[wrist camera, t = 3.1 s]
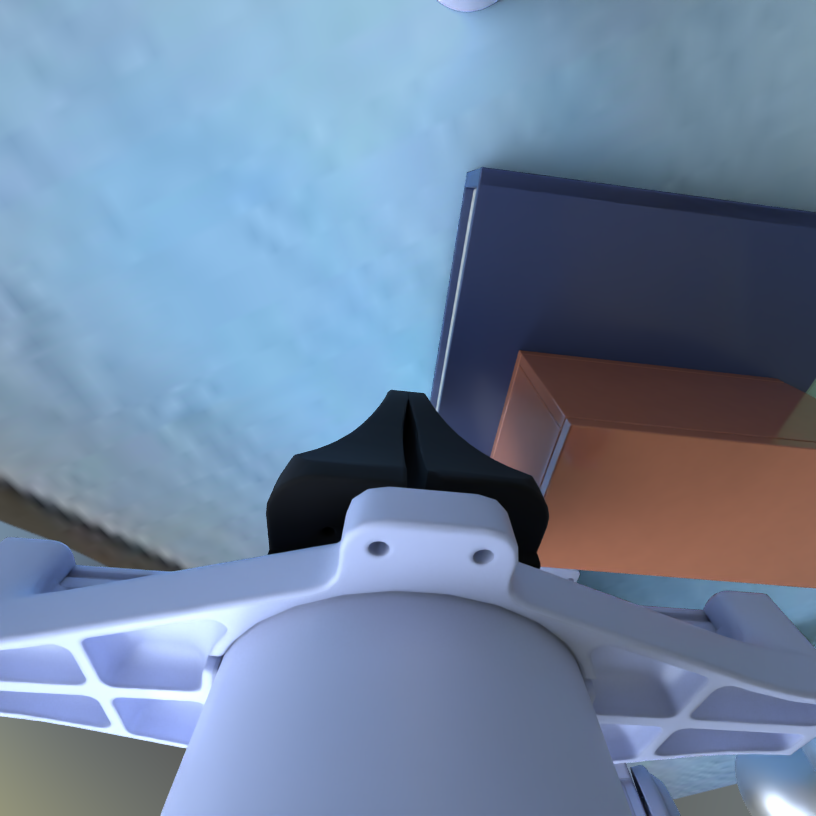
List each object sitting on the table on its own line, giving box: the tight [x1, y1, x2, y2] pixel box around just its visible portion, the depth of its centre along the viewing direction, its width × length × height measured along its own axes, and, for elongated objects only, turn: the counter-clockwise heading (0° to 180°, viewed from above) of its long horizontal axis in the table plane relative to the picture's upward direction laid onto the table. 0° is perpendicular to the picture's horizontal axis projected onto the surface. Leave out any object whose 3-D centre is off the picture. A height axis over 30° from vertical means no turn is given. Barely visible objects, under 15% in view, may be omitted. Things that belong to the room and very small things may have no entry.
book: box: [430, 167, 816, 457], centre depth 17 cm, size 16×14×3 cm
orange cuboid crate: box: [490, 350, 816, 588], centre depth 13 cm, size 10×5×5 cm, turn 83°
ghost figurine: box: [735, 748, 816, 816], centre depth 32 cm, size 9×10×10 cm
